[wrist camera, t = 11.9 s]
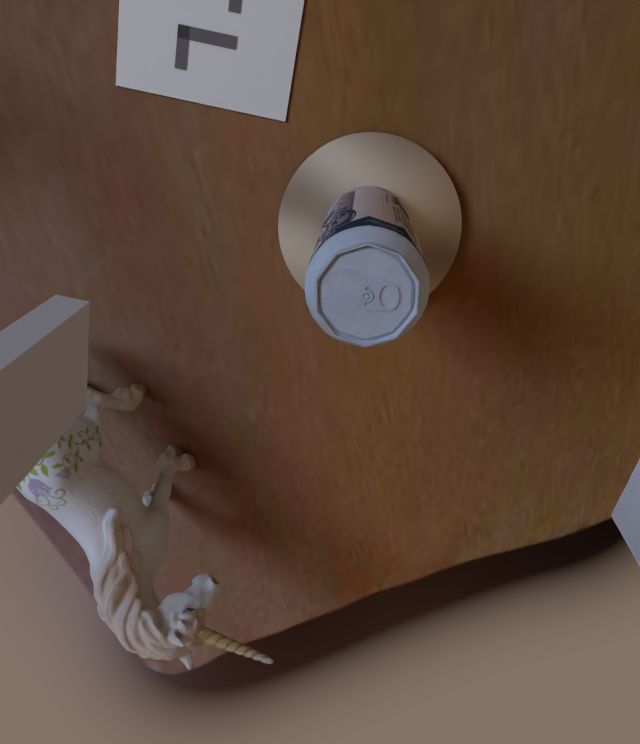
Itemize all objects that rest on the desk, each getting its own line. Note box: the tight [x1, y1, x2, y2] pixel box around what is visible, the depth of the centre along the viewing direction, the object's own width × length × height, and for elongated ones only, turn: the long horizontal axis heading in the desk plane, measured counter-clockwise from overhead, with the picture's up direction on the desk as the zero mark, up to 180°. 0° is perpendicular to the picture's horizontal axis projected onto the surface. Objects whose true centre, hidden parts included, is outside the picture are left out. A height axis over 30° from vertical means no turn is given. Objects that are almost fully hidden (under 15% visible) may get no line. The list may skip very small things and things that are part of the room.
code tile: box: [116, 0, 304, 122], centre depth 30 cm, size 9×9×1 cm
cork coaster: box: [278, 132, 462, 294], centre depth 33 cm, size 10×10×1 cm
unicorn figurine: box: [16, 384, 273, 669], centre depth 35 cm, size 7×20×13 cm, turn 48°
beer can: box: [305, 186, 430, 347], centre depth 28 cm, size 5×5×12 cm
